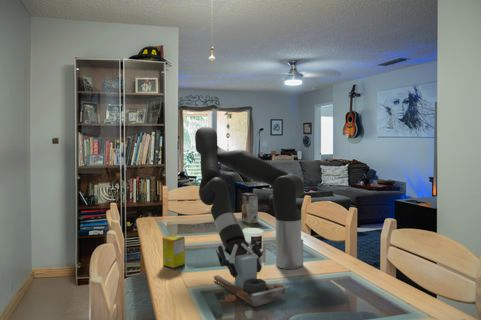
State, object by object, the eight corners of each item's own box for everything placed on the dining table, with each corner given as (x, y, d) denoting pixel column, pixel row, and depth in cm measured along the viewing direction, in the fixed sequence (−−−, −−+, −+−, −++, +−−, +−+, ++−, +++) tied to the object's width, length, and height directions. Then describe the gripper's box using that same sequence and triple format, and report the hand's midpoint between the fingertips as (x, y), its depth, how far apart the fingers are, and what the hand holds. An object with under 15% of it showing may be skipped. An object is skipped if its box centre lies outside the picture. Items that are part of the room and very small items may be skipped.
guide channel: (253, 272, 137) (253, 263, 137) (297, 295, 116) (297, 285, 116) (201, 283, 127) (200, 274, 127) (239, 310, 106) (239, 299, 106)
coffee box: (241, 220, 229) (240, 193, 229) (251, 219, 232) (250, 192, 231) (248, 223, 221) (247, 195, 220) (258, 222, 224) (258, 194, 223)
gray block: (248, 284, 126) (248, 253, 125) (256, 289, 122) (256, 257, 121) (234, 287, 123) (234, 255, 123) (243, 292, 119) (242, 259, 119)
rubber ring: (258, 288, 122) (257, 277, 122) (269, 295, 117) (268, 283, 116) (241, 292, 119) (241, 280, 119) (251, 299, 114) (251, 287, 113)
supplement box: (174, 262, 149) (174, 234, 149) (185, 265, 146) (185, 236, 145) (162, 266, 145) (161, 237, 144) (173, 270, 141) (172, 239, 141)
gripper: (243, 233, 136) (262, 275, 127) (206, 238, 129) (223, 284, 120) (251, 220, 131) (271, 263, 122) (213, 225, 124) (231, 271, 115)
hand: (247, 273), depth 121 cm, fingers open, 8 cm apart
